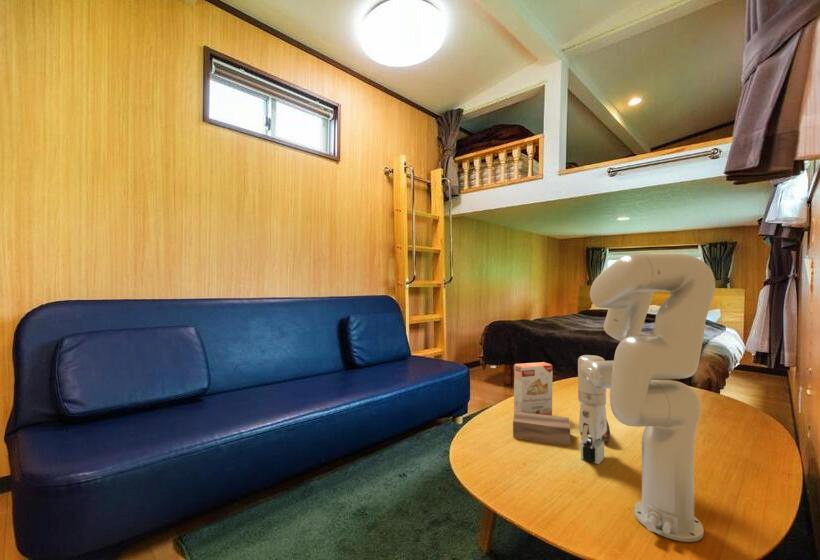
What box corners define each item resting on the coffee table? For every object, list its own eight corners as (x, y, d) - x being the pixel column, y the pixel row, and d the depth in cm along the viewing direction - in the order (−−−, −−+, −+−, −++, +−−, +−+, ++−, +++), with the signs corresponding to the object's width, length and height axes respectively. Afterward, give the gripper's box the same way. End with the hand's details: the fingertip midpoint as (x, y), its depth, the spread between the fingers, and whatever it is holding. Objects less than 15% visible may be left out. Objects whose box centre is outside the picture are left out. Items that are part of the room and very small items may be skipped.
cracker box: (522, 421, 136) (521, 367, 135) (513, 415, 141) (513, 363, 141) (553, 417, 139) (553, 364, 139) (543, 412, 145) (543, 361, 145)
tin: (611, 446, 115) (611, 420, 115) (600, 445, 116) (600, 419, 116) (596, 427, 130) (596, 404, 130) (587, 426, 131) (587, 404, 131)
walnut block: (570, 447, 115) (570, 428, 115) (513, 438, 122) (513, 421, 122) (568, 434, 125) (568, 417, 125) (515, 427, 131) (515, 411, 131)
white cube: (598, 464, 104) (598, 447, 104) (580, 458, 107) (580, 441, 107) (604, 458, 107) (604, 441, 107) (586, 452, 111) (586, 436, 111)
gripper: (595, 407, 99) (595, 472, 99) (614, 393, 111) (615, 452, 111) (567, 400, 104) (568, 462, 104) (589, 388, 116) (589, 444, 116)
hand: (592, 456), depth 107 cm, fingers closed on white cube, 5 cm apart
